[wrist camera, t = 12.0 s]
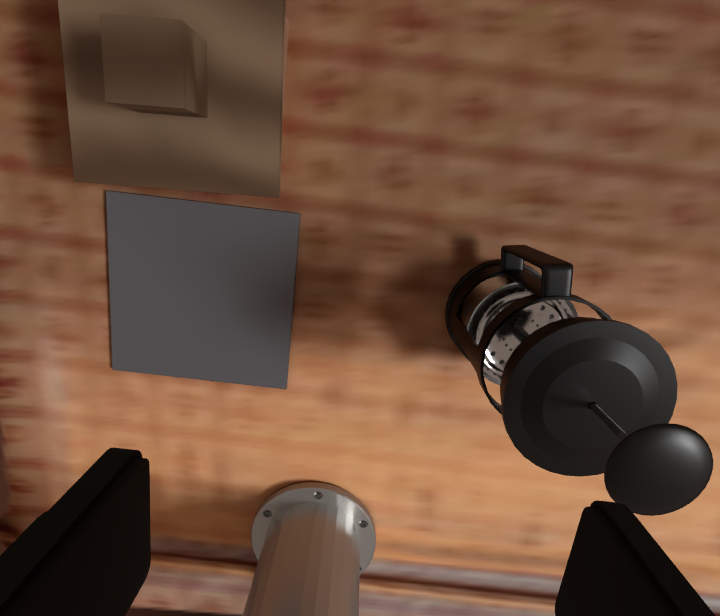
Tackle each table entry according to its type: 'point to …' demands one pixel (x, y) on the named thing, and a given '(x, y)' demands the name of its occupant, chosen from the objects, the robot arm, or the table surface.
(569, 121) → the table surface
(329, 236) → the table surface
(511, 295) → the french press
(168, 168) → the walnut lid
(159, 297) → the rubber mat
